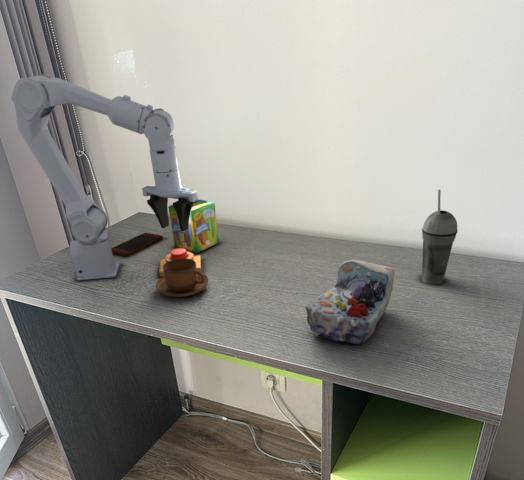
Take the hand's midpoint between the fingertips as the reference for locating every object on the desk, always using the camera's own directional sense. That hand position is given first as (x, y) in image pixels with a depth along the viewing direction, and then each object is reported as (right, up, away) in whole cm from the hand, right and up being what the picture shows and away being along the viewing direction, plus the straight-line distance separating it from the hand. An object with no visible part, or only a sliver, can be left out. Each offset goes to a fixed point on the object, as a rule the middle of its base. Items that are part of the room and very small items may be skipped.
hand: (174, 228), depth 119 cm
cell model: (+38, -24, -22) cm, 50 cm away
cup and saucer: (+3, -16, -5) cm, 17 cm away
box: (+1, -9, +6) cm, 10 cm away
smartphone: (-14, 0, +21) cm, 25 cm away
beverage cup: (+59, -14, -7) cm, 61 cm away
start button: (0, -6, +4) cm, 8 cm away
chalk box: (+3, 0, +19) cm, 19 cm away
